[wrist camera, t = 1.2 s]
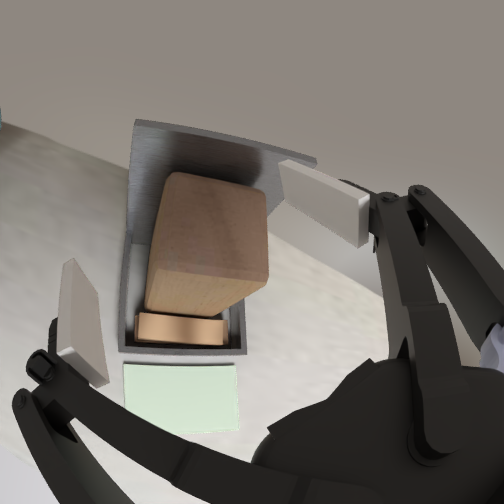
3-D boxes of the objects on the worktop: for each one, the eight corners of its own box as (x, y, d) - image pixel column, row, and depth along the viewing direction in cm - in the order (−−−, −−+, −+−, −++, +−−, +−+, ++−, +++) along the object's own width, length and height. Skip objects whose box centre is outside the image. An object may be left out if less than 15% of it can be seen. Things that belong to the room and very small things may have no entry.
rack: (119, 352, 34) (100, 341, 14) (127, 237, 40) (135, 118, 20) (237, 355, 41) (346, 339, 20) (232, 248, 47) (315, 158, 27)
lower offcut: (134, 342, 36) (134, 341, 34) (134, 318, 37) (135, 315, 35) (222, 345, 41) (228, 344, 39) (222, 322, 42) (227, 320, 40)
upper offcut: (137, 339, 34) (137, 337, 32) (139, 315, 35) (139, 312, 33) (217, 345, 38) (222, 344, 36) (217, 323, 39) (222, 320, 37)
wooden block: (213, 257, 45) (269, 187, 28) (211, 320, 41) (273, 285, 24) (150, 247, 41) (169, 165, 24) (143, 313, 38) (152, 270, 21)
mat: (127, 432, 30) (127, 433, 30) (123, 363, 34) (123, 364, 33) (238, 429, 36) (239, 429, 36) (234, 365, 40) (235, 365, 39)
